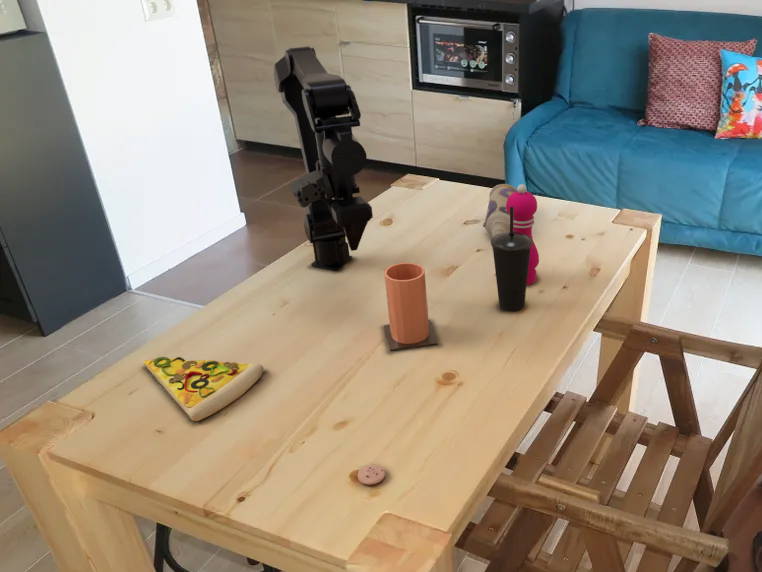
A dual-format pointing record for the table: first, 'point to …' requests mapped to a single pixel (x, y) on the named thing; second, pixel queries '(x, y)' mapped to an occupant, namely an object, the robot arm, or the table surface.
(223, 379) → the pizza slice
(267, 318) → the table surface
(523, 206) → the pepper mill
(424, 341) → the walnut coaster
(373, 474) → the cookie
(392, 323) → the peach cup
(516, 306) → the drinking cup
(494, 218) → the decorative bottle
